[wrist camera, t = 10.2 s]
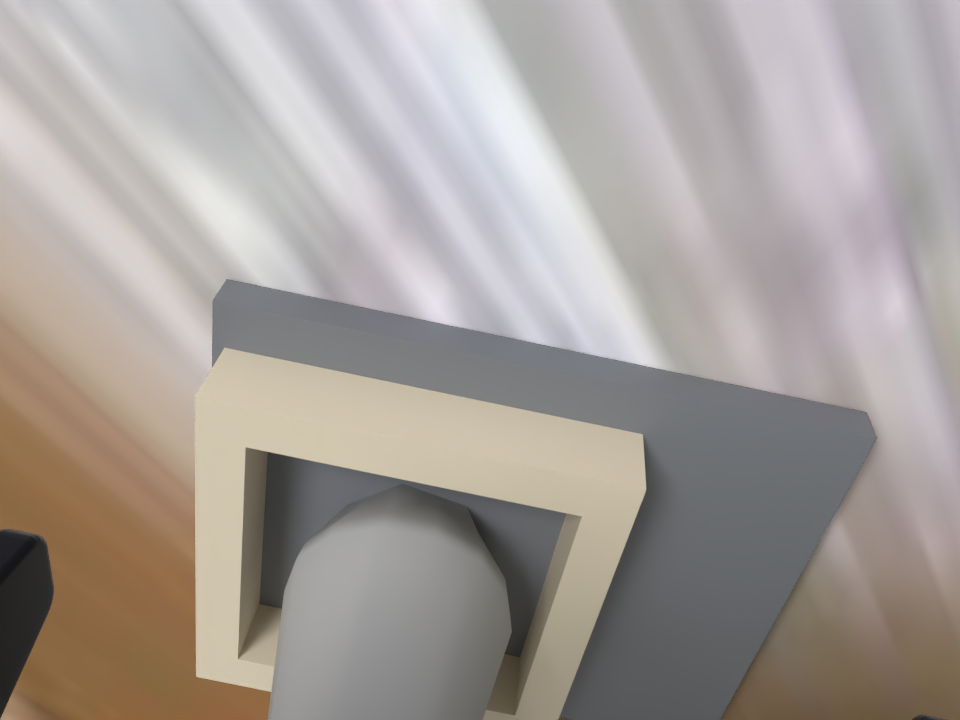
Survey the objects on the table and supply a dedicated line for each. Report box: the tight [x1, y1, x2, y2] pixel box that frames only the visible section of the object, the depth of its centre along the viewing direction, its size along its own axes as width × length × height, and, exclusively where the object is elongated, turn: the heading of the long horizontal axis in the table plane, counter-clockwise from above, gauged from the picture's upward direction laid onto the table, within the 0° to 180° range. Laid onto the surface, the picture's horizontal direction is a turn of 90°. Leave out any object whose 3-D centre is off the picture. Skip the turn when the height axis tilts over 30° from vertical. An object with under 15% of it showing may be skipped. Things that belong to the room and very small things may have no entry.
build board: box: [195, 279, 877, 720], centre depth 25 cm, size 16×13×3 cm
